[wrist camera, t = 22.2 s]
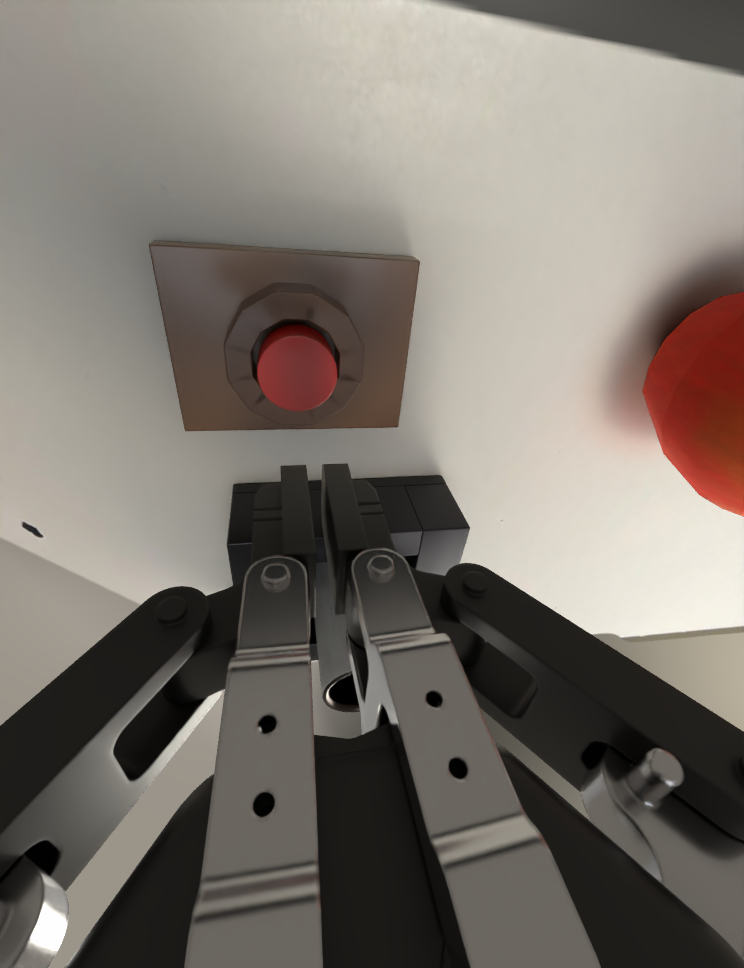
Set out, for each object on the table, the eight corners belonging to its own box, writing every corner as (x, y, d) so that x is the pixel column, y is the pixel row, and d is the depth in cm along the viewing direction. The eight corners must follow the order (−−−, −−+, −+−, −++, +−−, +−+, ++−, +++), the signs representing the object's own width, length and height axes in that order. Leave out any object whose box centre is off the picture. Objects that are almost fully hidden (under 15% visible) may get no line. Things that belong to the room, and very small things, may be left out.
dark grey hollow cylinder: (382, 548, 32) (420, 680, 24) (343, 584, 34) (366, 719, 25) (336, 523, 30) (360, 659, 22) (296, 562, 31) (304, 703, 23)
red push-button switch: (188, 421, 24) (179, 448, 22) (154, 240, 19) (138, 251, 17) (393, 418, 27) (405, 443, 24) (413, 256, 22) (431, 268, 19)
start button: (260, 396, 22) (259, 412, 20) (255, 322, 20) (253, 334, 18) (332, 395, 22) (336, 411, 21) (334, 324, 20) (339, 336, 19)
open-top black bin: (249, 605, 34) (246, 669, 30) (233, 484, 27) (226, 544, 23) (417, 589, 37) (436, 645, 33) (442, 475, 30) (470, 527, 26)
